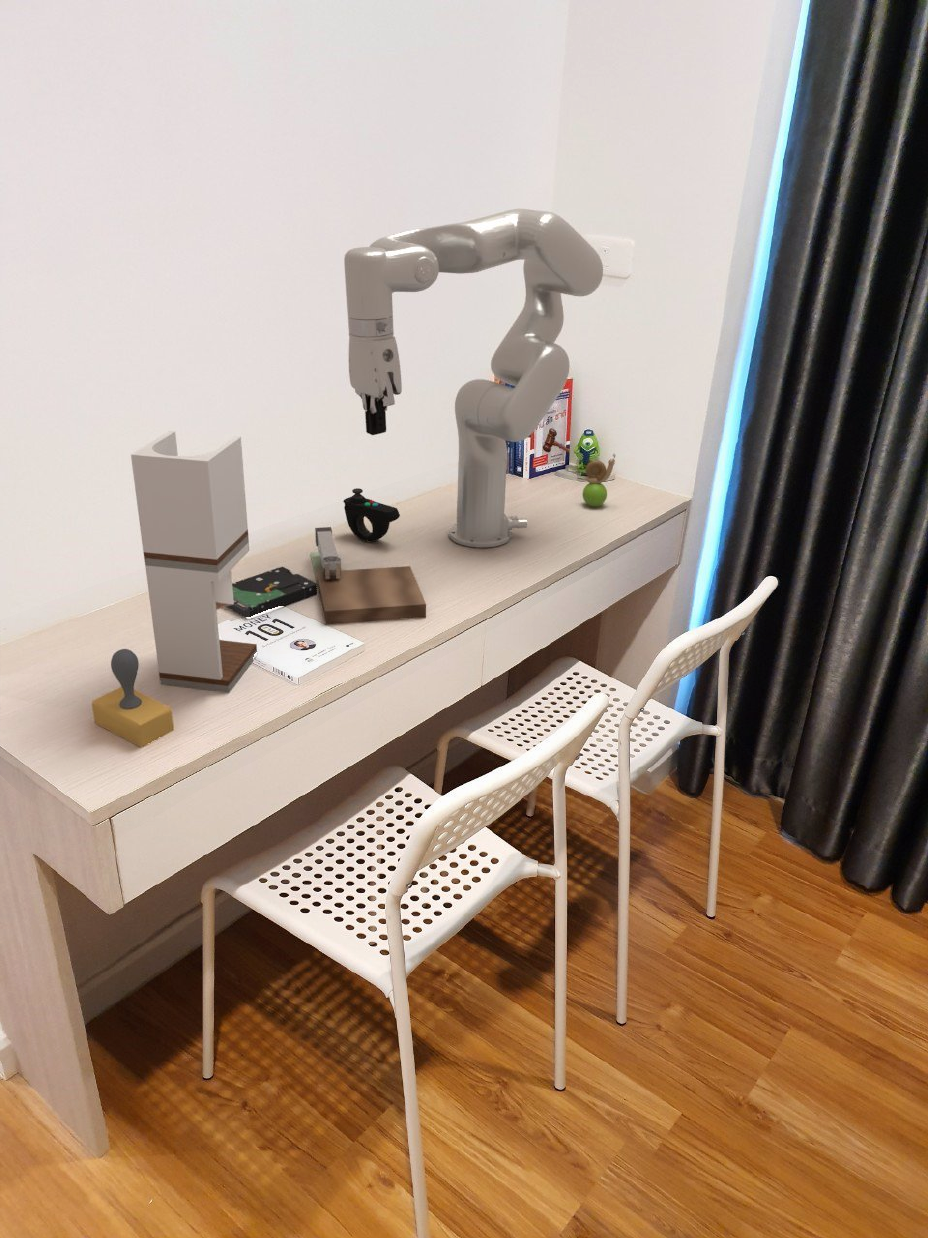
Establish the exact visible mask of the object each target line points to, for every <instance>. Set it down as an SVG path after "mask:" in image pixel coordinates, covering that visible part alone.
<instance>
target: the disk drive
mask: <svg viewBox="0 0 928 1238" xmlns="http://www.w3.org/2000/svg"><path fill="white" fill-rule="evenodd" d="M232 589H233V601H234V605H230V606H226V607H225V608H227V609H229V610H230V611H232V612H234V613H236V614H237V615H239V616H241V617H243V618H245V617H251V616H253V615H255V614H258V613H261V612H263V611H266V610H268V609H272V608H275V607H278V606H284V607H283V608H285V607H288V606H290V605H293V604H297V603H298V602H301V601H304V600H307V599H310V598H313V597H315V596H317V595H318V587H317V582H315V581H313V580H311V579H309V578H307V577H305V576H302V575H300V574H299V573H294V574H293V573H292V572H291V569H289V568H287V567H285V566H280V567H276V568H273V569H271V570H268V571H264V572H262V573H259V574H257V575H252V576H250V577H247V578H244V579H241V580H239V581H235V582H232Z"/></svg>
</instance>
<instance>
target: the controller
mask: <svg viewBox="0 0 928 1238" xmlns="http://www.w3.org/2000/svg"><path fill="white" fill-rule="evenodd" d="M363 491H364V490H363V489H362V488H356V487H355V488H353V489H352V493H353V495H352V496H350V497H347V498H345V499H344V500H343V503H344V507H343V509H344V513H345V518H346V522H347V525H348V527H349V529H350V531H351V533H353V535H354V536H355V537H356V538H358V539H359V540H360V541H364V542H367V543H371V542H373V543H374V542H376V541H378V540H380V539H382V538H384V537H385V536H386V535H387V534H388V530H389V528H390V524H391V523H392V522H395V521H396V520H398V519H399V518H400V517H401V514H400V512H399V510H398V508H397V507H393V506H391V505H387V504H384V503H381V502H377V501H375V500H372V499H369V498H367V497H365V496H364V495H362V493H363ZM365 518H366V519H367V520H368V521H369V522H370V524H371V528H372V529H371V530H372V532H371V531H370V530H369V529H368V528H367V526H366V524H365Z"/></svg>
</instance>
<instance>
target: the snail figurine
mask: <svg viewBox="0 0 928 1238" xmlns="http://www.w3.org/2000/svg"><path fill="white" fill-rule="evenodd" d="M612 457H613V458H610V459H609V460H608V466H606V465H605V463H604V462H602V461H600V460H591V461H590V462H588V463H587V464H586V466H585V475H587V476H586V477H584V479H585V481H587V482H588V483H587V484H585V486H584V487H583V490H582V499H583V501H584V502H585V504H587V506H590V507H599V506H601V505H603V504H604V503H605V502H606V500H607V497H608V490H607V488H606V486H605V485H604V484H603V483H605V482H606V481H607V480H608V479H609V477H610V476H611V474H612V471H613V469H614V465H615V463H616V460H615V458H616V454H615V453H612Z"/></svg>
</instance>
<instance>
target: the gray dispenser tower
mask: <svg viewBox="0 0 928 1238" xmlns="http://www.w3.org/2000/svg"><path fill="white" fill-rule="evenodd" d="M176 436H177V435H176V431H173V430H169V431H167V432H164V434H162V435H160V436H159V437H157V438H156V439H154V440H153V441H150V442H149V443H148V444H147V443H146V445H145V446H144V445H143V447H140V448H139V449H138V450H136V451H135V452H133V453H131V454H130V458H131V459H130V460H131V465H132V473H133V480H134V481H133V482H134V488H135V489H134V491H135V496H136V497H135V498H136V505H137V512H138V519H139V527H140V536H141V543H142V551H143V559H144V565H145V574H146V581H147V589H148V599H149V604H150V605H149V606H150V613H151V621H152V622H151V623H152V629H153V637H154V643H155V644H154V645H155V653H156V661H157V667H158V675H159V676H158V677H159V682H160V683H159V684H160V685H162V686H168V687H169V686H170V687H178V688H179V687H180V688H185V689H194V690H201V691H202V690H204V691H211V692H219V693H228V694H229V693H230V692H231V691H232V690H233V688H234V687H235V686H236V684H237V683H239V681H240V680H241V678H242V677H243V676H244V675H245V673H246V672H247V671H248V669H249V668H250V666H251V665H252V664H253V662H254V661H253V657H254V654H255V653H256V652H257V653H258V648H257V647H258V646H257V643H249V642H241V641H240V642H239V641H232V640H223V639H220V633H219V623H218V612H217V610H220V609H223V608H227V607H226V606H230V605H234V601H233V589H232V583H233V580H232V569H233V568H234V567H235V566H236V565H237V564H238V563H239V562H240V561H241V560H242V559H243V558H244V557H245V556H246V555H247V554H248V553H249V552H250V540H249V539H250V538H249V529H248V528H249V526H248V514H247V501H246V499H247V498H246V489H245V486H246V485H245V476H244V474H245V473H244V462H243V461H244V459H243V449H242V448H243V447H242V446H243V445H242V438H241V437H242V436H234V437H232V438H231V439H229V440H228V441H226V442H225V443H223V444H222V445H221V446H220V447H218V448H216V449H215V450H213V451H210V452H206V453H203V454H202V453H201V454H195V455H186V456H185V455H184V456H183V455H182V456H181V455H178V453H179V452H178V446H177V437H176Z"/></svg>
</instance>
